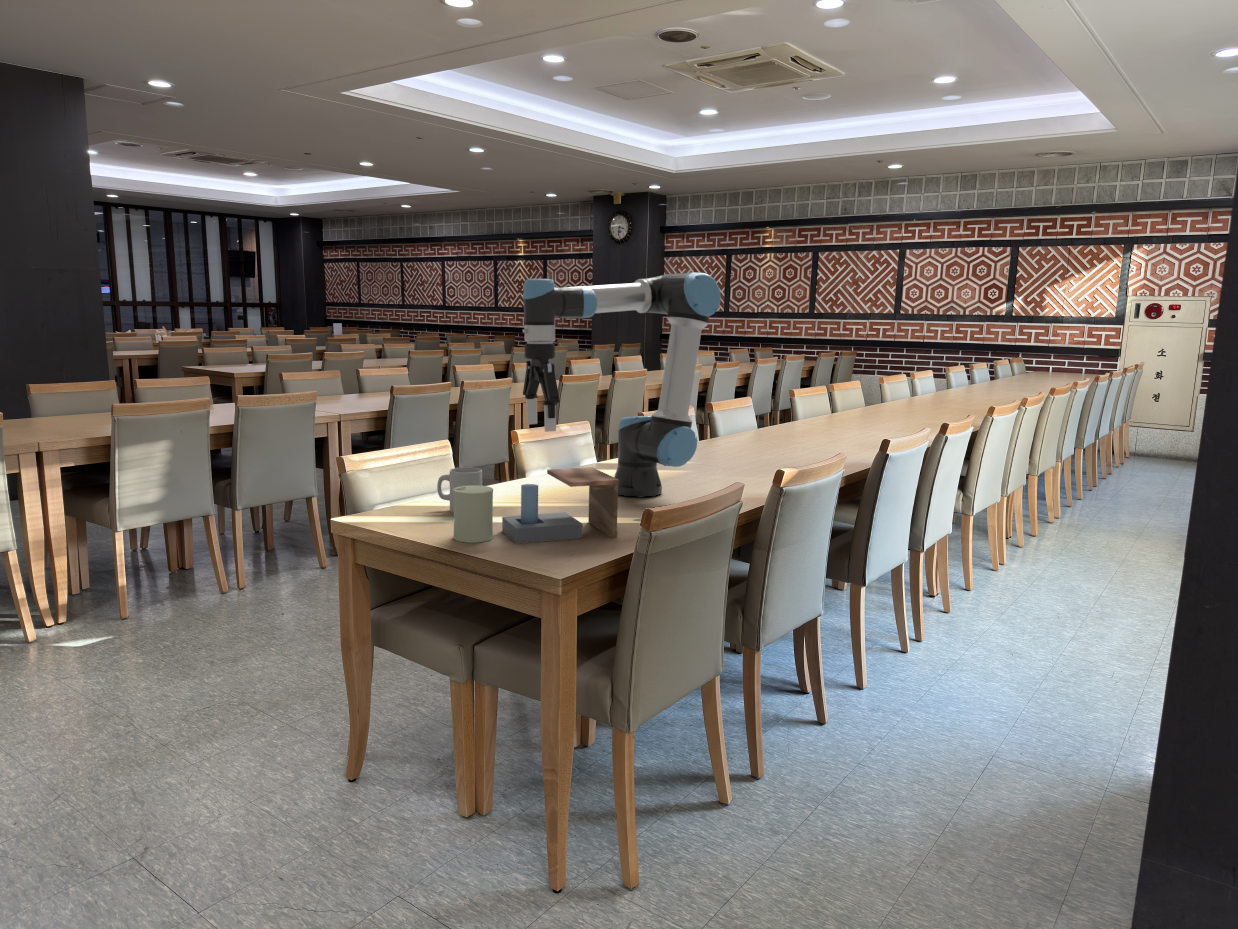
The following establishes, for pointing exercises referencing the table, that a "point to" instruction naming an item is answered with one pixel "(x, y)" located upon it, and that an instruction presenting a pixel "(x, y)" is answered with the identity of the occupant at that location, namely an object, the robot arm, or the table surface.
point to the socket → (542, 528)
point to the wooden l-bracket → (595, 495)
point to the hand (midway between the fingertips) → (540, 427)
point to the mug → (459, 481)
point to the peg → (529, 504)
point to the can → (473, 513)
